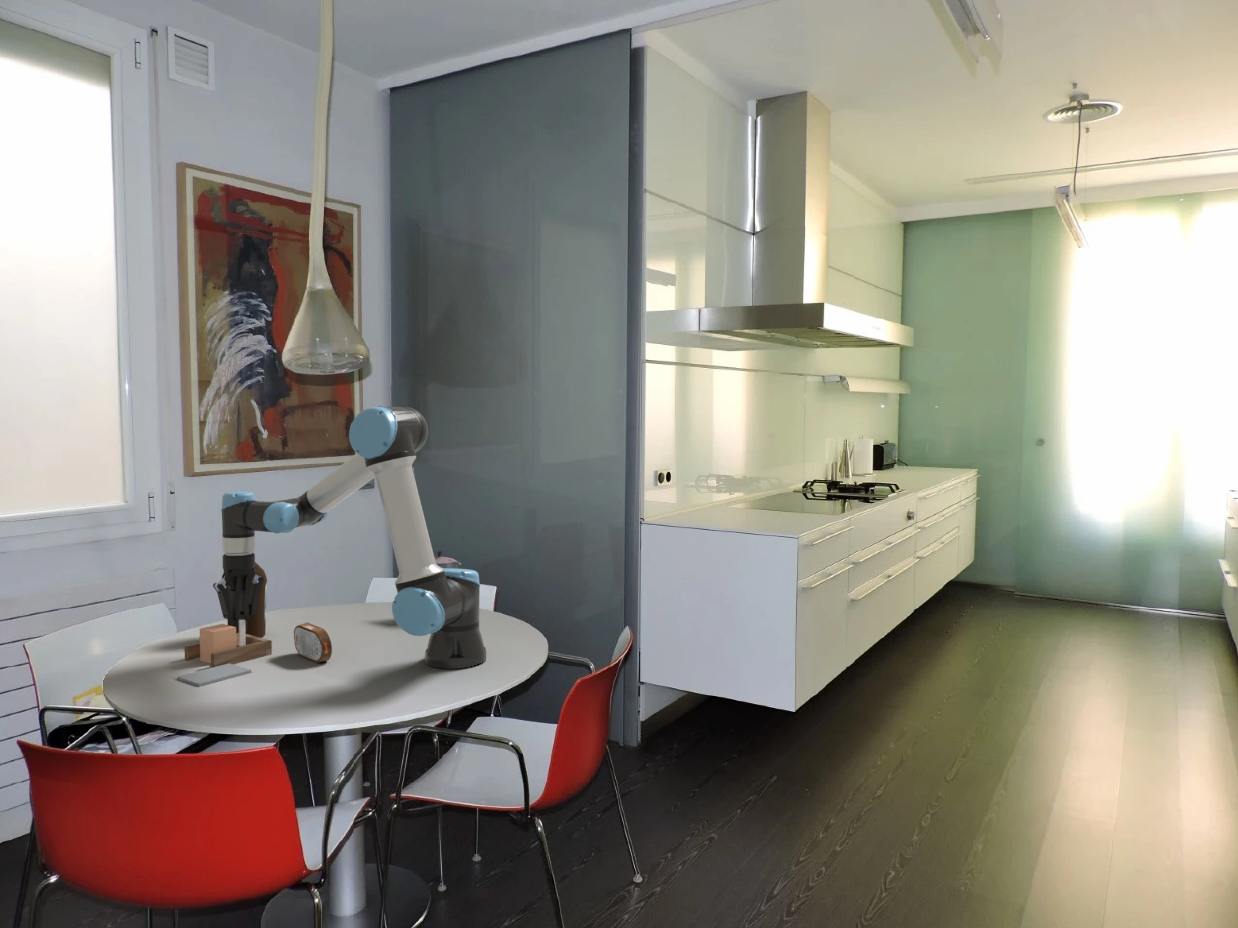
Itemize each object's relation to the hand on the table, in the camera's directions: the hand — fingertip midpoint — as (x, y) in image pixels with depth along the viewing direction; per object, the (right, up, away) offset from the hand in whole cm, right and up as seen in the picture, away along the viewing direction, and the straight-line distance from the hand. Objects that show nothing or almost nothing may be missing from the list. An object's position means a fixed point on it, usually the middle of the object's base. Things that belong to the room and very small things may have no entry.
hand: (239, 644), depth 225 cm
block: (-3, -3, -5) cm, 6 cm away
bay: (-1, -3, -2) cm, 4 cm away
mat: (+2, -4, -18) cm, 18 cm away
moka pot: (+41, 0, +41) cm, 58 cm away
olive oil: (-5, -1, +17) cm, 18 cm away
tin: (+20, -3, -3) cm, 20 cm away
